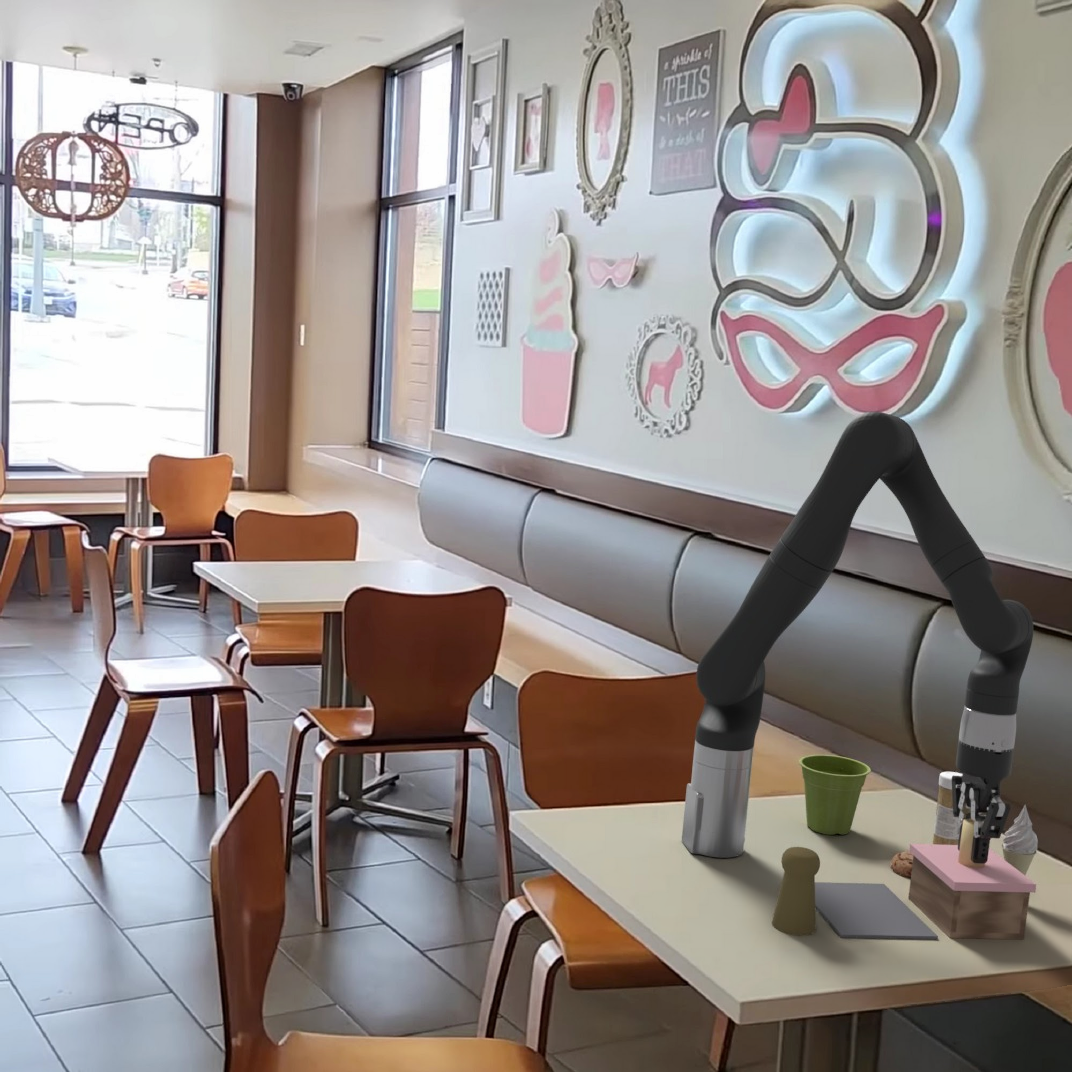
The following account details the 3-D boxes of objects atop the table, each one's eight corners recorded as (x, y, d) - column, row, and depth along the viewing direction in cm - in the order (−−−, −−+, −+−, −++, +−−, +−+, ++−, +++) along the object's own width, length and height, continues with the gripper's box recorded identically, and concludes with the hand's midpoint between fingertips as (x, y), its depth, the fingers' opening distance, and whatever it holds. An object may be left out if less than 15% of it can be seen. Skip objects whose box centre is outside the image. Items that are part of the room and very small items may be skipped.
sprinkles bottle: (941, 847, 229) (950, 769, 228) (965, 856, 226) (974, 777, 224) (924, 852, 226) (934, 772, 225) (948, 861, 223) (958, 780, 221)
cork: (806, 939, 187) (815, 861, 186) (764, 926, 190) (773, 849, 189) (822, 925, 192) (830, 849, 191) (781, 913, 195) (789, 838, 194)
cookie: (877, 864, 220) (879, 846, 219) (931, 860, 224) (933, 842, 224) (917, 888, 211) (920, 869, 210) (972, 883, 215) (975, 864, 215)
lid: (953, 897, 190) (960, 840, 189) (908, 858, 205) (914, 804, 204) (1034, 899, 192) (1041, 842, 191) (984, 860, 207) (991, 807, 206)
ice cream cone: (1013, 908, 205) (1025, 810, 203) (987, 896, 209) (999, 799, 207) (1037, 905, 207) (1050, 808, 205) (1011, 892, 211) (1023, 797, 209)
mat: (840, 937, 189) (841, 934, 189) (795, 884, 207) (795, 881, 207) (937, 939, 191) (937, 936, 191) (883, 886, 209) (884, 883, 209)
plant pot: (790, 813, 241) (797, 751, 240) (860, 822, 240) (867, 759, 238) (793, 836, 229) (800, 770, 228) (866, 844, 228) (874, 778, 227)
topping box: (949, 937, 192) (955, 889, 191) (908, 898, 205) (913, 852, 204) (1023, 939, 193) (1030, 891, 192) (977, 899, 207) (983, 854, 206)
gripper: (939, 725, 202) (926, 839, 205) (984, 753, 189) (969, 875, 191) (988, 727, 204) (974, 840, 206) (1036, 755, 190) (1020, 876, 192)
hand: (972, 856), depth 198 cm, fingers closed on lid, 3 cm apart
